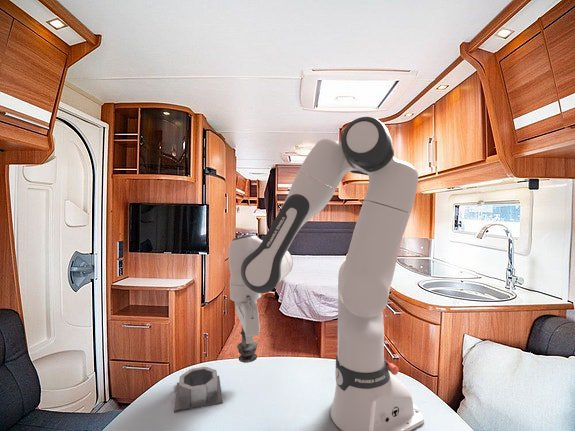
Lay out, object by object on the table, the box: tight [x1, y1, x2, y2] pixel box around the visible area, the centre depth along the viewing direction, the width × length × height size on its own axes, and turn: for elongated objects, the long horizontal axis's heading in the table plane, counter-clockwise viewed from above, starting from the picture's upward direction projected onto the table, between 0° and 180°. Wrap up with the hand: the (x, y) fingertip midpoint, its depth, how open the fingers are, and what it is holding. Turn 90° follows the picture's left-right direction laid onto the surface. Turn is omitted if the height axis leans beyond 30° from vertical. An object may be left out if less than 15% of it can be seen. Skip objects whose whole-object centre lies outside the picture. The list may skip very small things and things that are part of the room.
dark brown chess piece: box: [236, 326, 259, 364], centre depth 84 cm, size 6×6×12 cm
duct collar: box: [173, 366, 224, 413], centre depth 81 cm, size 12×12×5 cm
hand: (247, 339), depth 84 cm, fingers closed on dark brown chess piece, 3 cm apart
